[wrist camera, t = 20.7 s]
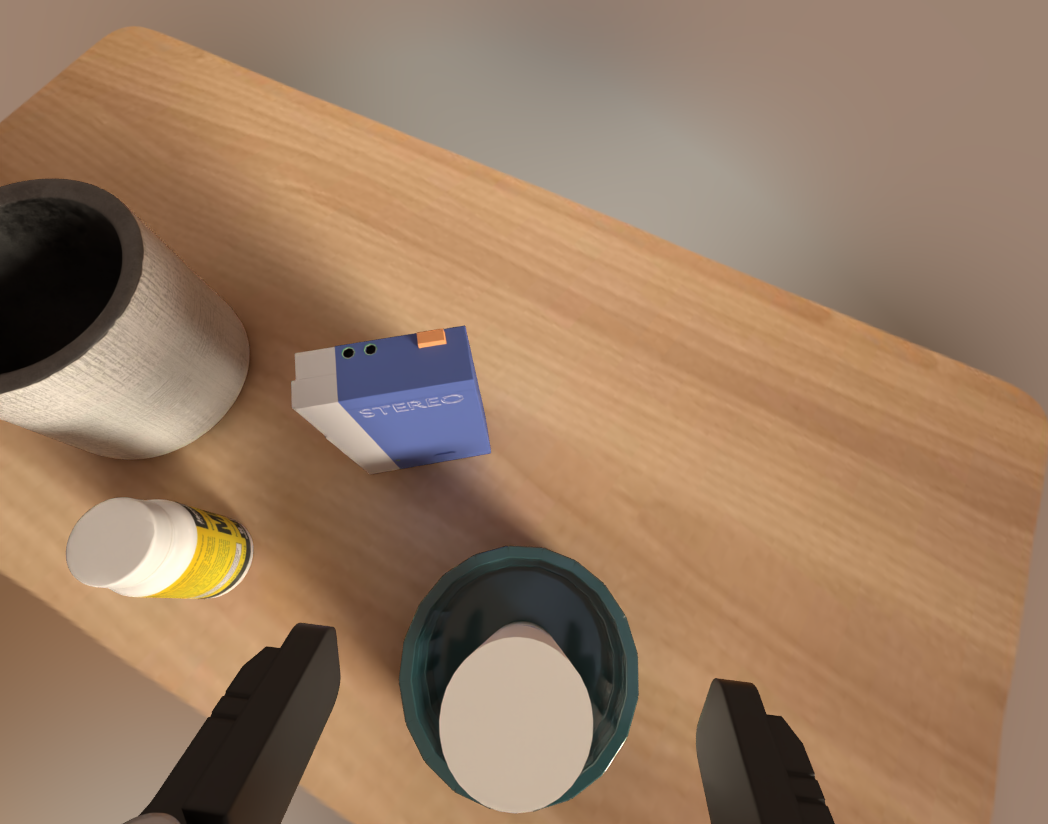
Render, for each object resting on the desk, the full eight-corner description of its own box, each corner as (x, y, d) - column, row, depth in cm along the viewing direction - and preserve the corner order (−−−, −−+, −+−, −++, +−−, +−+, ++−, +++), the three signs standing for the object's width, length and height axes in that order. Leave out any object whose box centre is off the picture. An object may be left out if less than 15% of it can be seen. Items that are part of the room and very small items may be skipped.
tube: (489, 715, 28) (450, 829, 14) (477, 629, 29) (430, 652, 15) (568, 698, 28) (609, 794, 14) (551, 614, 29) (574, 623, 15)
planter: (231, 468, 33) (94, 405, 23) (38, 459, 33) (-186, 393, 23) (273, 297, 37) (175, 178, 27) (102, 291, 38) (-62, 170, 27)
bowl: (645, 597, 30) (666, 596, 26) (582, 813, 27) (594, 858, 22) (468, 527, 32) (458, 513, 27) (386, 723, 28) (357, 746, 23)
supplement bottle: (269, 530, 32) (184, 505, 24) (233, 609, 30) (130, 611, 22) (199, 507, 32) (92, 476, 24) (160, 585, 31) (33, 578, 23)
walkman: (484, 413, 34) (464, 320, 23) (491, 453, 33) (472, 376, 22) (365, 433, 34) (284, 348, 23) (368, 475, 33) (285, 407, 22)
